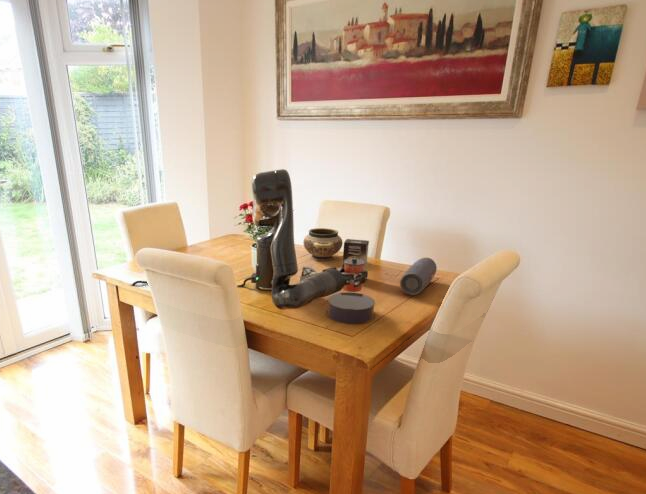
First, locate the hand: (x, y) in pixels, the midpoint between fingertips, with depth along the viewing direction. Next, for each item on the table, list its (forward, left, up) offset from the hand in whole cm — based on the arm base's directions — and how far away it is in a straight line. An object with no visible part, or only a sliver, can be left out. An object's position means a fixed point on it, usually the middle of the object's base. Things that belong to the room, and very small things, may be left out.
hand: (357, 271), depth 152 cm
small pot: (-2, -2, -5) cm, 6 cm away
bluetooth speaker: (+26, +25, -15) cm, 39 cm away
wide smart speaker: (-2, -2, -15) cm, 15 cm away
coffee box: (+2, +34, -15) cm, 37 cm away
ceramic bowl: (-10, +64, -15) cm, 67 cm away
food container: (-16, +13, -15) cm, 25 cm away
